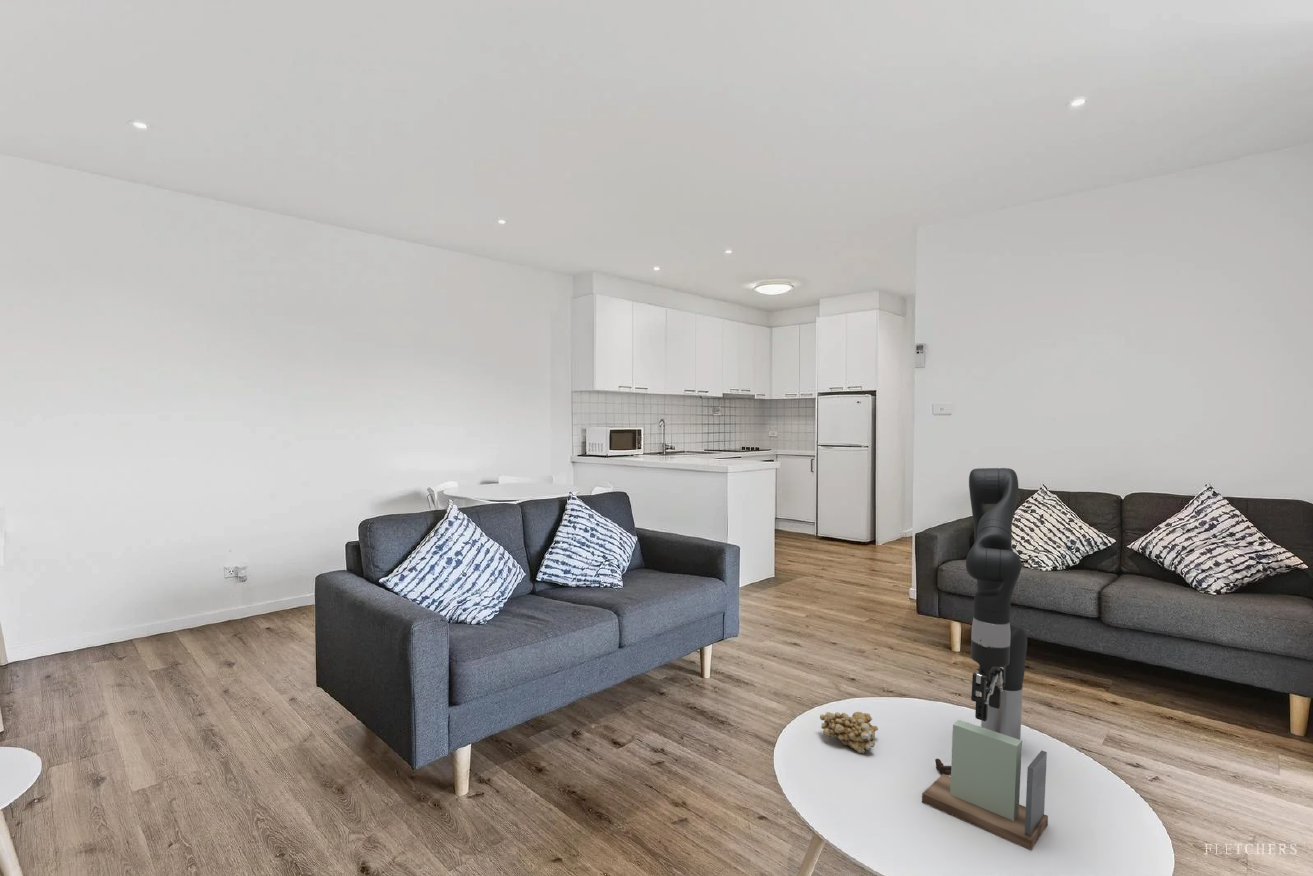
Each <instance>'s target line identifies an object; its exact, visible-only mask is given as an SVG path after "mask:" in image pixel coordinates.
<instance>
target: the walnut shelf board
mask: <svg viewBox="0 0 1313 876" xmlns="http://www.w3.org/2000/svg"><path fill="white" fill-rule="evenodd" d="M950 786H951V775H945V774H942V775H941V774H940V776H939V777H938V778H936V780H935V781H933V783H932V784H931V785H929V787H927V788H926V789H925V790H924V791H923V792H922V793H921V803H923V804H925V805H927V806H929V807H931V808H934V809H936V810H938V811H941V812H943V813H945V814H948V815H950V816H952V817H954V818H957V819H959V820H961V821H964V822H966V823H968V824H970V825H973V826H975V827H977V828H979V829H982V830H984V831H986V832H987V833H988V832H989V833H990V834H993V835H996V836H997V837H1000V838H1002V839H1005V840H1006V841H1008V842H1011V843H1014V844H1015V845H1018V846H1020V847H1022V848H1024V849H1028V850H1029V851H1032V849H1033V848H1034V846H1035V845H1036V844H1037V842H1038V841H1039V839H1040V838H1041V836H1042V834H1043V833H1044V831H1045V830H1046V828H1047V827H1048V823H1049V815H1047V814H1045V813H1044V817H1043V819H1042V820H1041V822H1040V823H1039V825H1038V826H1037V828H1036V829H1035V831H1034V832H1033V834H1032V835H1031V837H1028V836H1026V835H1025V815H1026V805H1025V806H1024V805H1022V804H1020V803H1019V815H1018V816H1017V817H1016V819H1015V820H1014V821H1012V820H1010V819H1008V818H1005V817H1003V816H1000V815H998V814H996V813H993V812H991V811H988V810H986V809H984V808H981V807H979V806H976V805H974V804H972V803H969V802H967V801H964V800H962V799H960V798H957V797H955V796H952V795H950Z"/></svg>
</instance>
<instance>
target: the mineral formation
mask: <svg viewBox="0 0 1313 876" xmlns="http://www.w3.org/2000/svg"><path fill="white" fill-rule="evenodd" d="M819 719H820V720H821V721H824V722H821V727H820V728H821V729H822V730H823V731H822V732H823V735H825V736H826V737H827V738H829V737H832V738H835V737H836V738H837V739H839V741H840V742H841V744H843V746H849V747H850V748H851V749H854V750H855V751H856V752H857V753H858V754H864V753H865V752H866V750H867V751H868V750H870V749H871V748H874V746H875V745H876V742H875V740H874V739H875V737H876V733H875V732H876V731H879V727H878V726H877V725H872V724H871V721H873V717H872V716H871V713H868V712H866V713H863V712H862V711H860V712H859V711H855V712H853V713H852V715H851V716H849V714H847V713H846V712H842V713H841V712H835V713H833V712H830V711H826V712H825V714H820V715H819Z"/></svg>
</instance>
